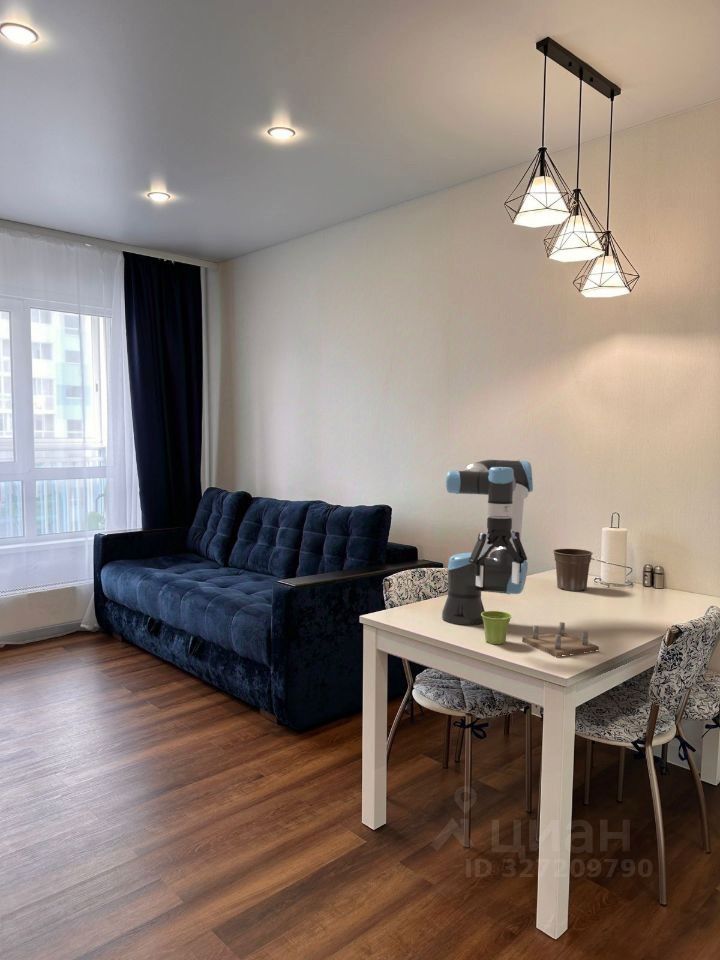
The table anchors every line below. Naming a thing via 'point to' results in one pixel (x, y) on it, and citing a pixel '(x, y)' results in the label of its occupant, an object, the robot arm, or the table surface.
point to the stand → (560, 642)
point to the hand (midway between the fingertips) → (497, 584)
